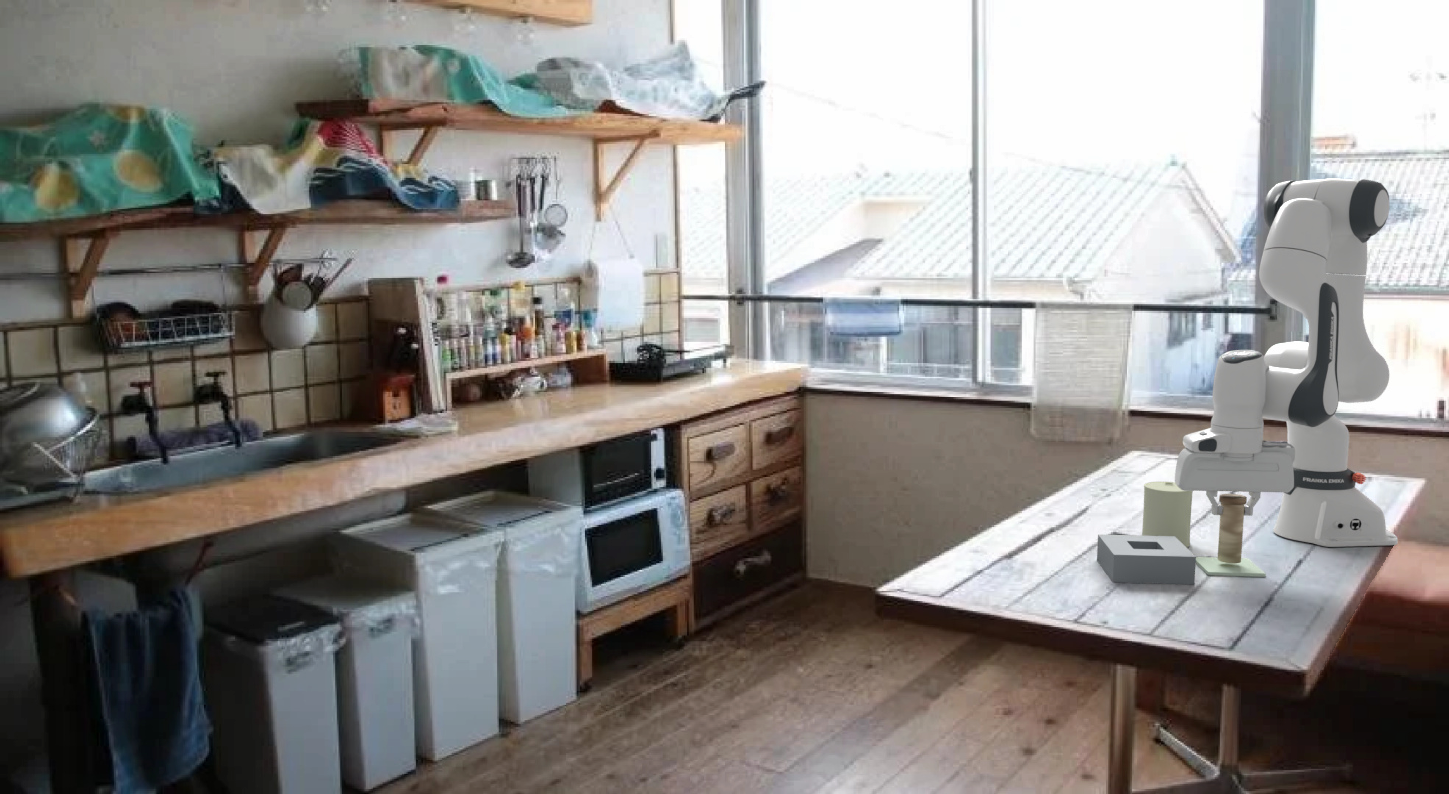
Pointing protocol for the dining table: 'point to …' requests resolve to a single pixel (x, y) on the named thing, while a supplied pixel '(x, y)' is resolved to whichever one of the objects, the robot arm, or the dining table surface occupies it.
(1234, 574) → the mat
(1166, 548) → the socket
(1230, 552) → the plug
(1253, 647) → the dining table surface
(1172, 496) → the can
